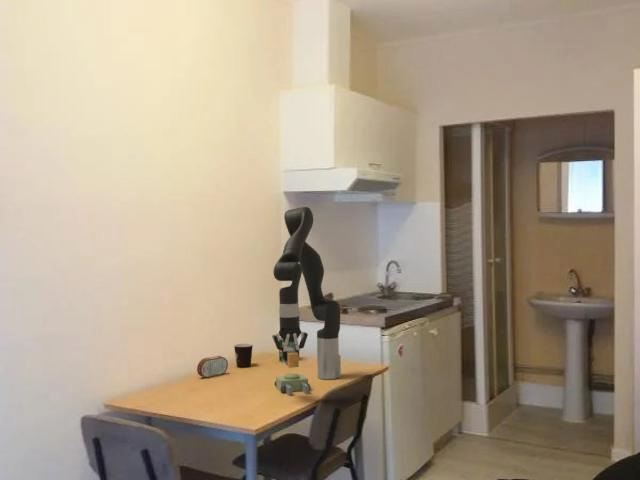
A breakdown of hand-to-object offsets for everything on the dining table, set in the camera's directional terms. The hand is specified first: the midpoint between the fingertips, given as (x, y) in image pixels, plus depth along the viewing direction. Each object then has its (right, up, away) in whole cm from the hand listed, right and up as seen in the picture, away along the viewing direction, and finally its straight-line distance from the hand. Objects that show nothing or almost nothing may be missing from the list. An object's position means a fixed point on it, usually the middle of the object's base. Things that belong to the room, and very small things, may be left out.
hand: (290, 360), depth 254 cm
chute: (0, -1, +1) cm, 2 cm away
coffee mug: (-25, -14, +62) cm, 68 cm away
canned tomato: (-5, -13, +72) cm, 74 cm away
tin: (-36, -15, +41) cm, 57 cm away
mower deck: (+1, -14, +13) cm, 19 cm away
